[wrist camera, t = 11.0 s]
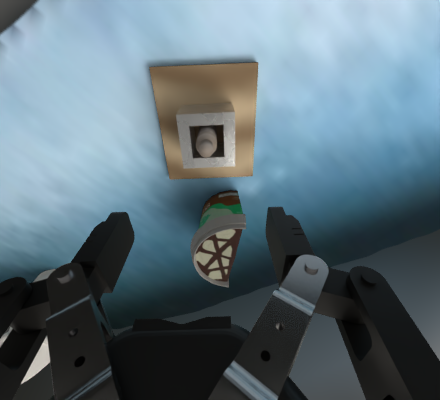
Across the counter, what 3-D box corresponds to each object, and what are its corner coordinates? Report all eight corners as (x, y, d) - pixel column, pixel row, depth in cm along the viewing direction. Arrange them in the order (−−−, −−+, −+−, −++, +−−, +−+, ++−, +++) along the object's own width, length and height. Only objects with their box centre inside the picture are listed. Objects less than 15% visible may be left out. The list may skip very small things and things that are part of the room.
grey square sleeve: (182, 104, 27) (175, 114, 23) (231, 102, 27) (235, 111, 22) (188, 152, 30) (183, 168, 26) (232, 150, 30) (235, 166, 26)
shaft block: (151, 66, 25) (126, 72, 18) (256, 62, 25) (273, 66, 18) (170, 176, 33) (158, 210, 26) (251, 173, 33) (261, 206, 26)
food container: (199, 177, 33) (193, 218, 25) (239, 182, 34) (247, 224, 26) (191, 237, 40) (185, 285, 32) (225, 240, 41) (228, 289, 32)
